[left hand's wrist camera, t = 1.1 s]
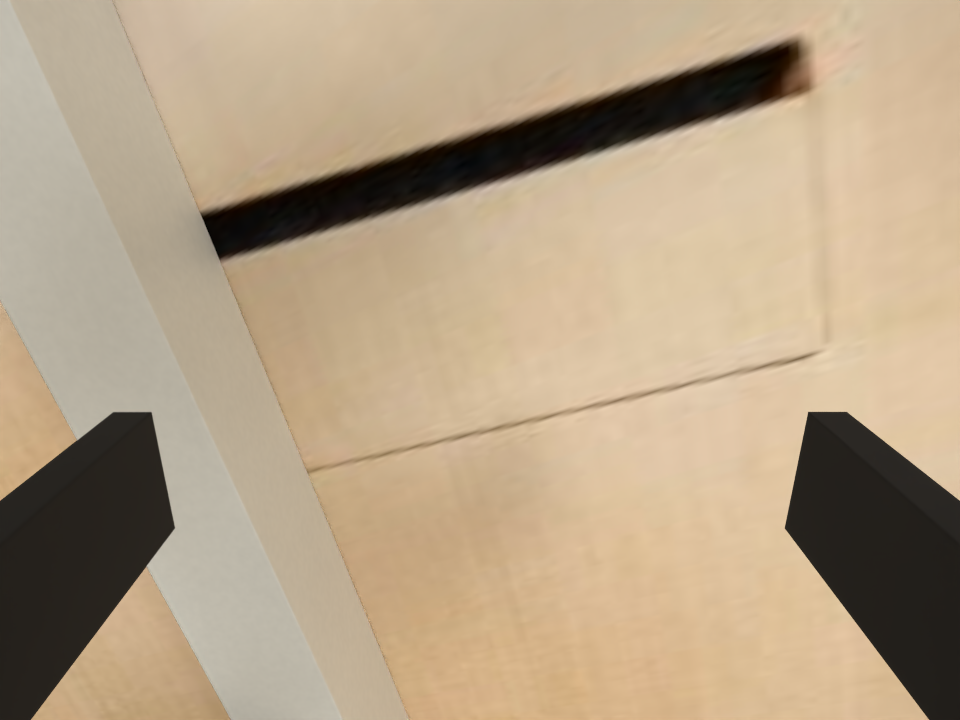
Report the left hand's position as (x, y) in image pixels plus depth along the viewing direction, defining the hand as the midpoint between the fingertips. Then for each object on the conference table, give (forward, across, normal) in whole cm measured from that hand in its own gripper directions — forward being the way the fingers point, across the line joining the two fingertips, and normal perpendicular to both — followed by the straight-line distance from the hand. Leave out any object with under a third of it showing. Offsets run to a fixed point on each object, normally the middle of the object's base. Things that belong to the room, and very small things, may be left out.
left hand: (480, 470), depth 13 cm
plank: (+21, -14, -8) cm, 27 cm away
